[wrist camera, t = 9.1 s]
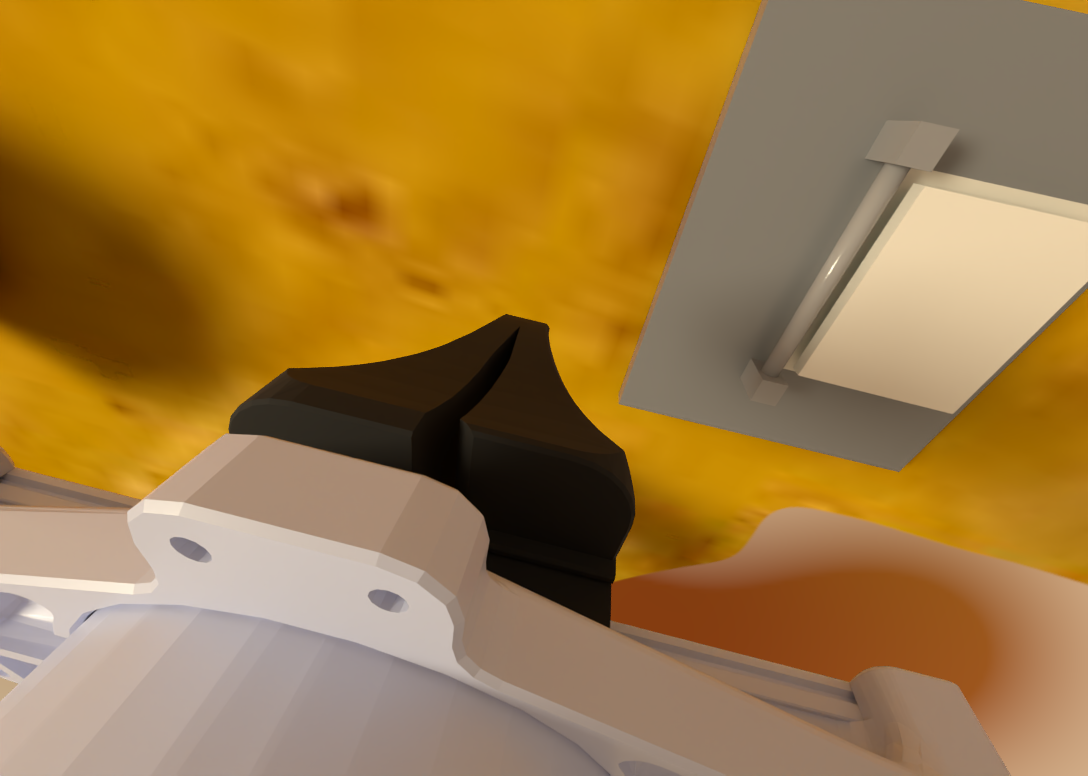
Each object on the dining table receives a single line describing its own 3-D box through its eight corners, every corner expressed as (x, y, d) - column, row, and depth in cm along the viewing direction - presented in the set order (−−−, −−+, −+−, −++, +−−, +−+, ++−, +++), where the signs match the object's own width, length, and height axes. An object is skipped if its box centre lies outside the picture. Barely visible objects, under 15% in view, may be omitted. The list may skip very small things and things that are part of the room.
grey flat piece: (888, 459, 23) (920, 500, 21) (618, 393, 23) (618, 426, 21) (1273, 66, 13) (1429, 54, 10) (776, -39, 13) (811, -75, 11)
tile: (798, 375, 18) (792, 366, 19) (952, 414, 18) (941, 403, 19) (925, 185, 14) (912, 182, 14) (1136, 233, 13) (1113, 227, 14)
